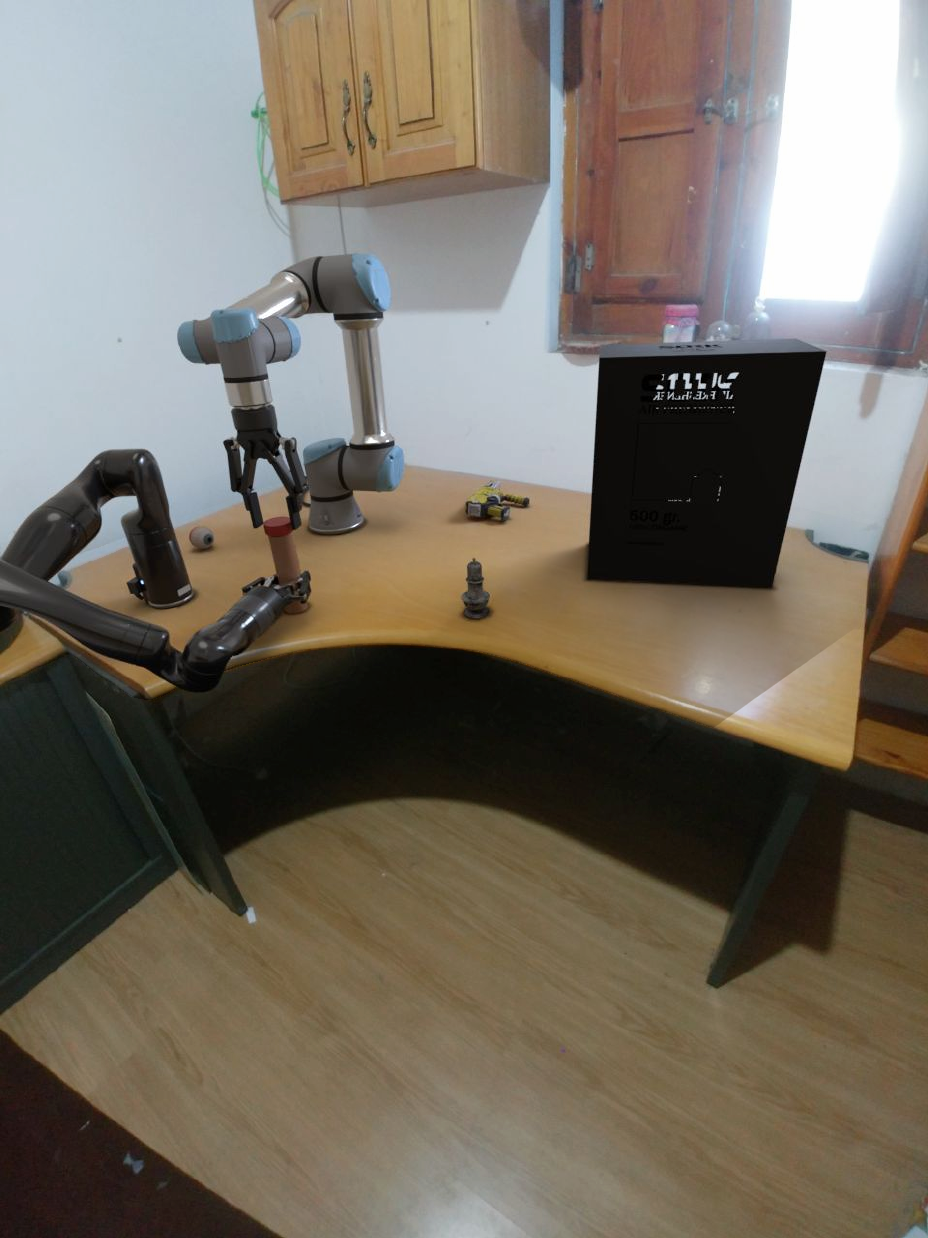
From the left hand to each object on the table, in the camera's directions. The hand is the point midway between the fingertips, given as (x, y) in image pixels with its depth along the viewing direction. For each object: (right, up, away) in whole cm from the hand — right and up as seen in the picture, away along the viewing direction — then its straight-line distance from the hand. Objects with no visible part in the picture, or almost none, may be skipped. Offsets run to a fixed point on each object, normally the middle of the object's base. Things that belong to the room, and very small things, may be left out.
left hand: (296, 574), depth 127 cm
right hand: (-1, +9, -8) cm, 12 cm away
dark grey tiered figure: (+38, -8, -5) cm, 39 cm away
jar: (0, -7, +1) cm, 7 cm away
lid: (-1, +9, -8) cm, 13 cm away
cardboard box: (+83, +3, +10) cm, 83 cm away
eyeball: (-33, +9, +32) cm, 47 cm away
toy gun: (+46, +23, +48) cm, 70 cm away
